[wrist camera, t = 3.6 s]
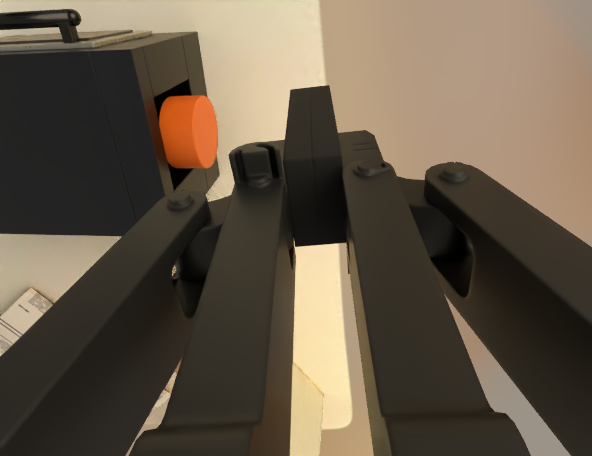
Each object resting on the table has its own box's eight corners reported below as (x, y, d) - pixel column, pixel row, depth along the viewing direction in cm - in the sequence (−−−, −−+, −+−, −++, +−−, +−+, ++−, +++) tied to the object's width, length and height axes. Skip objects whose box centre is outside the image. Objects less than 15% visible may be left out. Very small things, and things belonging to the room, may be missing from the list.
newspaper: (-13, 329, 53) (-28, 343, 50) (39, 279, 49) (26, 291, 47) (124, 425, 60) (116, 441, 57) (179, 388, 56) (173, 403, 53)
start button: (212, 88, 30) (188, 104, 25) (221, 154, 32) (201, 179, 28) (180, 89, 30) (151, 105, 26) (192, 154, 32) (168, 179, 28)
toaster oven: (192, 1, 31) (120, 6, 21) (219, 175, 38) (174, 237, 28) (-10, 13, 33) (-157, 22, 23) (51, 175, 40) (-43, 233, 30)
